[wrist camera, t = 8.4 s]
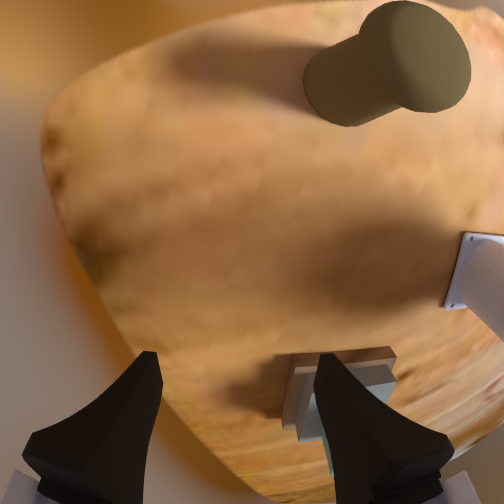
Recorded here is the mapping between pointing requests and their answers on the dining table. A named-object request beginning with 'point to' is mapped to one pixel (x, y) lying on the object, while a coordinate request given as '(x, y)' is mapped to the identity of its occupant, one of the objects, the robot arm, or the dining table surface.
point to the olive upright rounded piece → (390, 67)
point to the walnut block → (310, 363)
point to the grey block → (308, 416)
